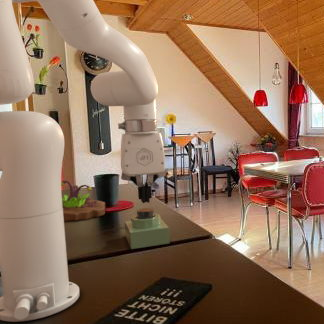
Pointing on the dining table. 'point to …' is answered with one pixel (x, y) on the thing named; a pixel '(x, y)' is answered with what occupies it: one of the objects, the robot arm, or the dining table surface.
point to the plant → (80, 205)
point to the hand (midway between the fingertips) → (145, 201)
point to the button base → (146, 232)
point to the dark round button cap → (145, 213)
